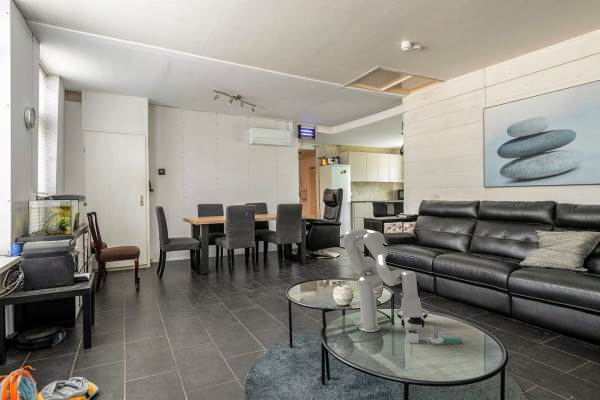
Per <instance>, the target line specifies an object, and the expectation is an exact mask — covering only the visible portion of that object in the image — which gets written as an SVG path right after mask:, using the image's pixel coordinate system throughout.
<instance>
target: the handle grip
mask: <svg viewBox="0 0 600 400" xmlns="http://www.w3.org/2000/svg"><path fill="white" fill-rule="evenodd" d="M416 283H417V294H418V297H419V298H420V299H421V292H420V291H421V289H420V288H421V286H420V280H418V279H416ZM407 323H408V324H411V325H415V326H416V325H417V326H419V325H421V317H409V319H408V320H407ZM421 326H422V325H421Z"/></svg>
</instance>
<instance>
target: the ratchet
mask: <svg viewBox="0 0 600 400" xmlns="http://www.w3.org/2000/svg"><path fill="white" fill-rule="evenodd" d="M432 331H433V332H432V333H433V334H428V335H427V342H428V344H430V345H434V346H442V345H444V344H447V345H448V344H449V345H451V344H452V345H460V344H463V339H462V337H461V336H445V335H444V336H443V335H440V334H439V329H438V327H432Z"/></svg>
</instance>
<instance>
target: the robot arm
mask: <svg viewBox="0 0 600 400" xmlns="http://www.w3.org/2000/svg"><path fill="white" fill-rule="evenodd" d="M360 243H363V244H364V245H365V246H366V248H367V250H368V251H369V253H370V254H371V255H372V256H371V257H370V256H364V254H363V252H362V250H361V247H360V246H358V245H357V244H360ZM384 243H385V236H384V234H383V233H381V232H380V231H378V230H377V231H376V230H372V229H368V228H358V229H351V230H348V231H346V232H345V233H344V235H343V237H342V245H343V248H344V249H345V251H346V253H347V255H348V258H349V260H350V263H351V265H352V268H353V271H354V272H355V274H358V275H362V276H361V277H359V278H358V280H357V289H358V292H359V293H358V294H359V307H360V319H359V320H353V324H354V325H355V326H358V329H359V330H360V331H362V332H366V333H374V332H378V331H380V330H381V326H380V325H379V324H378V314H377V313H378V311H377V310H378V309H377V298H376V294H375V293H374V291H375V290H378V289H380V288H381V287H382V286H383V285H384V284H383V283H385V284H386V285H387V286H389V287H392V286H396V285H400V284H401V286H402V287H401V288H402V291H401V292H399V296H401V307H400V308H398V309H396V310H395V311H394V313H395V314H396V316H397V317H398V318H399V320H400V322H401V326H402V328H404V329H405V328H406V326H405V320H404V319H405V318H410V317H421V328H422V329H424V326H425V320H426V319H427V318H428V316H429V314H430V311H429V310H428V309H425V308H423V307H422V303H421V297H420V298H419V297H418V294H417V283H416V280H417V275H416V272H415V271H412V270H404V269H394V270H390V268H389V267H388V265H387V262H386V258H387V256H388V254H389V253H388V250H387V248H386V247H385V246H384ZM363 274H365V275H363ZM400 312H401V313H402V314H400ZM423 312H424V315H423Z"/></svg>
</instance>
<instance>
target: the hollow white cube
mask: <svg viewBox="0 0 600 400" xmlns="http://www.w3.org/2000/svg"><path fill="white" fill-rule="evenodd" d="M405 340H406V342H407V344H420V343H419V340H420V339H419V332H418V330H417V329H407V328H406V329H405Z"/></svg>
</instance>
